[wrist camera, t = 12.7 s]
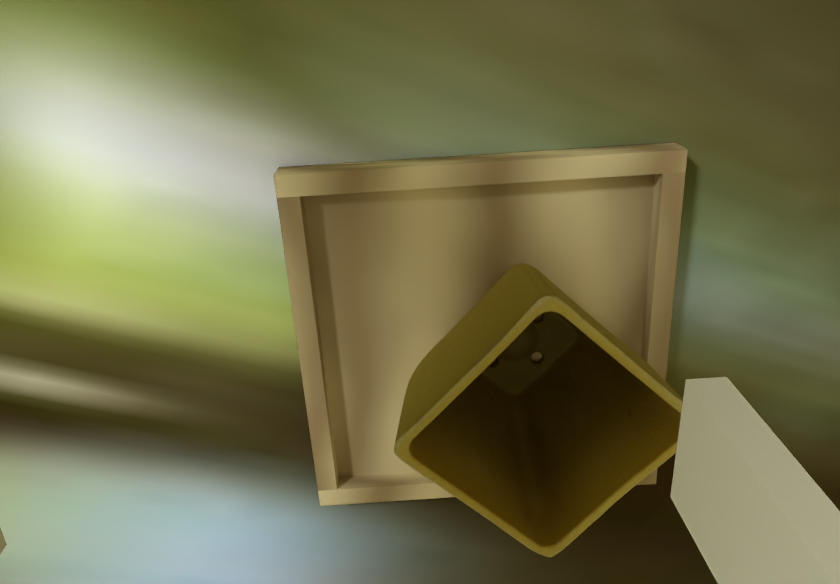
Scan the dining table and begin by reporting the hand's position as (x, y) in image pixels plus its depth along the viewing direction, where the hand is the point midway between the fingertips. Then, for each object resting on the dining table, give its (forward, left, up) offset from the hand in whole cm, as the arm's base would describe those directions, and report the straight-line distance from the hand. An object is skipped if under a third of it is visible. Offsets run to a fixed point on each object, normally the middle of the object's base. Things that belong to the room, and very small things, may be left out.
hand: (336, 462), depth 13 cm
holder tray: (+5, -8, -21) cm, 23 cm away
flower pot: (+6, -8, -21) cm, 23 cm away
